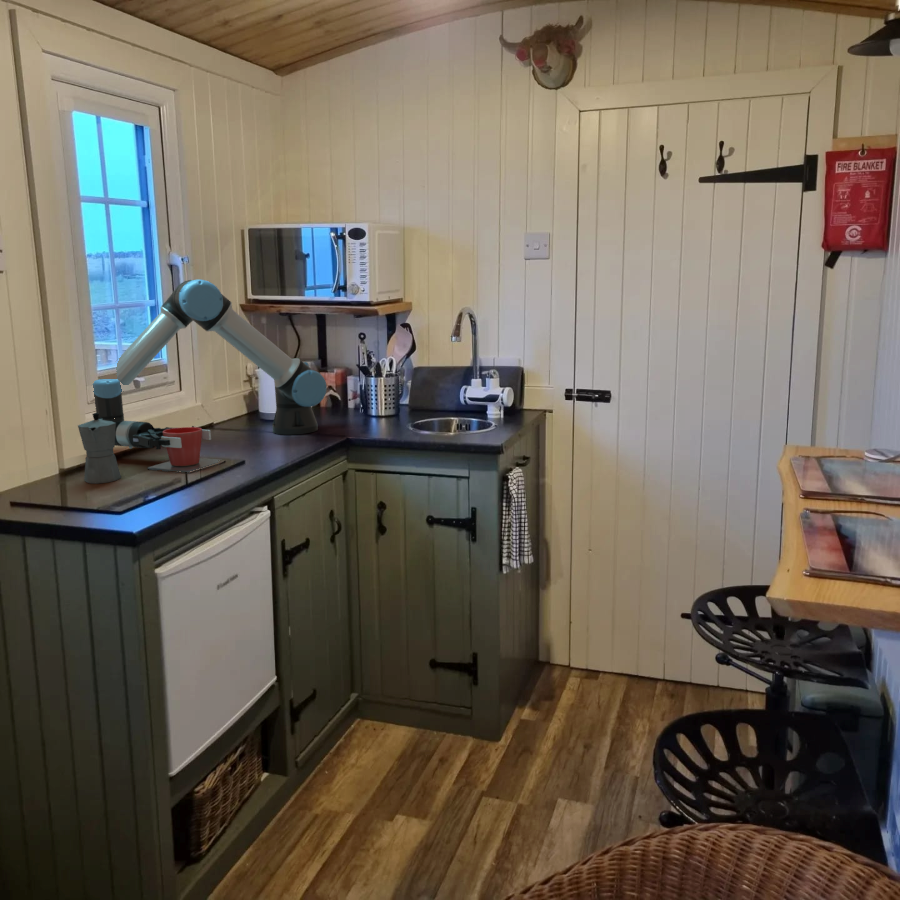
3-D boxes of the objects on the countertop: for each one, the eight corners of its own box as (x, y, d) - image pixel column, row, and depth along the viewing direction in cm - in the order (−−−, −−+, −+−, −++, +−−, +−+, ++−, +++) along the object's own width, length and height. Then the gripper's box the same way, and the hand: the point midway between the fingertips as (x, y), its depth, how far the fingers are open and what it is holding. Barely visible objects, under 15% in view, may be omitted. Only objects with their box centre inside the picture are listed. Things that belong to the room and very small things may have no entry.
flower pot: (212, 460, 251) (210, 426, 249) (189, 468, 241) (186, 433, 239) (181, 459, 255) (178, 426, 253) (157, 466, 244) (154, 432, 243)
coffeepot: (118, 483, 229) (110, 415, 225) (79, 486, 227) (71, 418, 223) (125, 471, 244) (119, 406, 240) (89, 473, 242) (82, 409, 238)
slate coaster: (185, 458, 258) (185, 456, 258) (225, 462, 252) (225, 460, 252) (147, 469, 245) (147, 467, 245) (189, 473, 239) (189, 471, 238)
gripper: (167, 439, 266) (224, 444, 256) (106, 455, 245) (166, 460, 235) (164, 415, 264) (222, 418, 255) (103, 428, 243) (163, 433, 234)
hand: (195, 438), depth 245 cm, fingers open, 11 cm apart
